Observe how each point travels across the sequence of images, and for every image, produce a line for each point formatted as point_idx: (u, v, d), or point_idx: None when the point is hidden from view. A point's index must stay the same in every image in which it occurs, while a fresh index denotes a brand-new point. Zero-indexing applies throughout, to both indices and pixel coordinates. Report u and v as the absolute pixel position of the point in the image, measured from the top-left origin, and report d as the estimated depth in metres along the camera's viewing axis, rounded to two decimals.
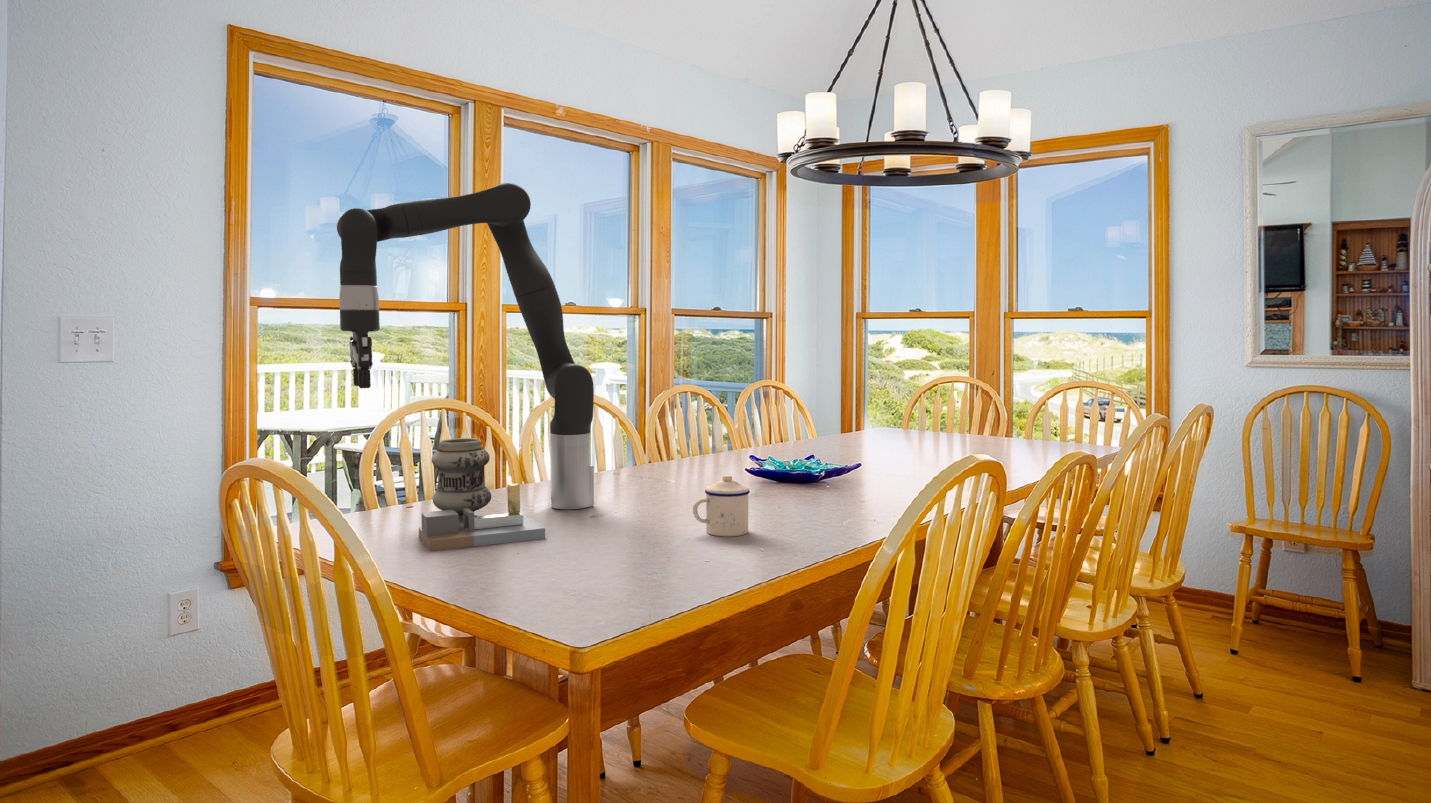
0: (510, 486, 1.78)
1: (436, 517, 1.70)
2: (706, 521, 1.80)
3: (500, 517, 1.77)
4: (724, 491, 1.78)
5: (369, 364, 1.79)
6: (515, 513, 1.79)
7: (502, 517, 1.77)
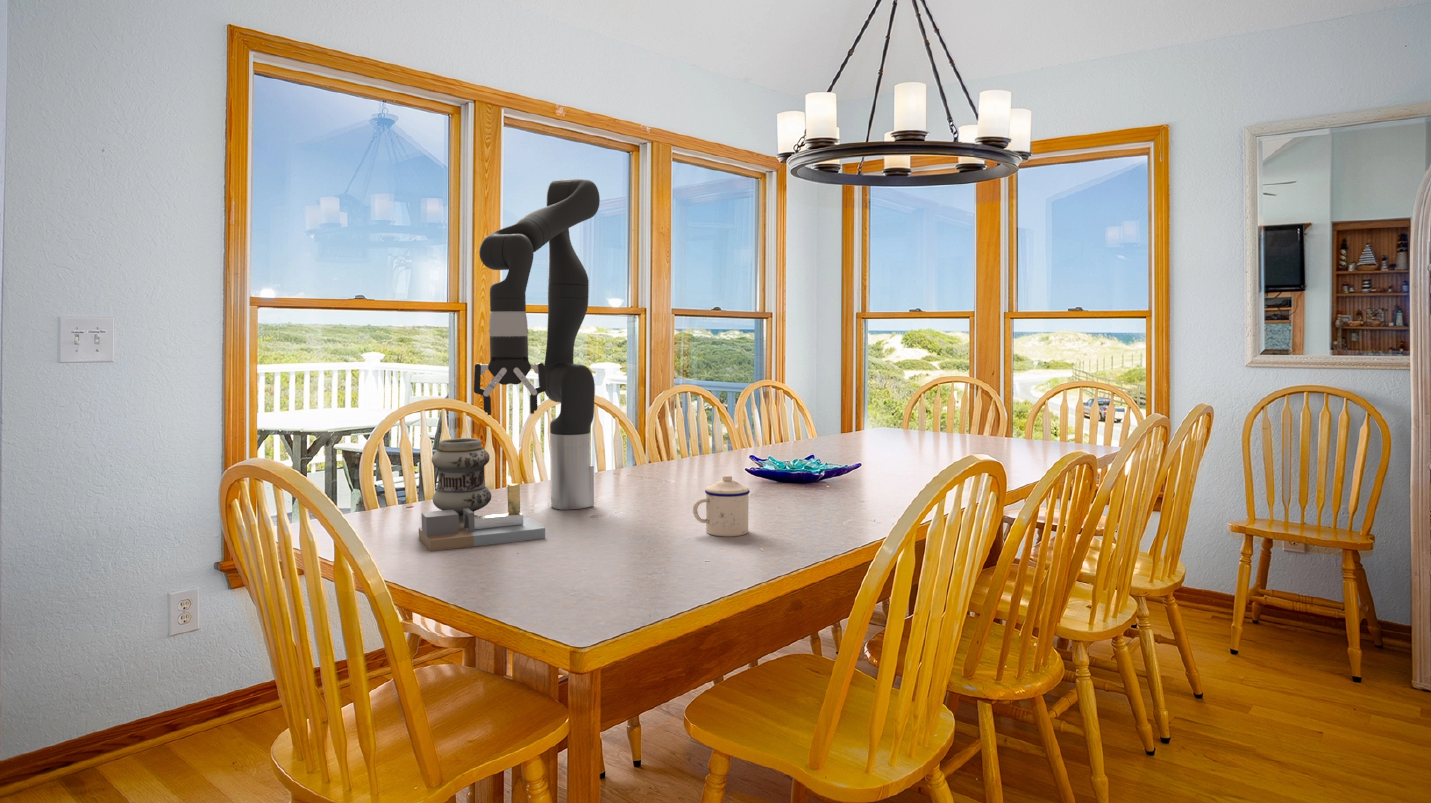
0: (510, 486, 1.78)
1: (436, 517, 1.70)
2: (706, 521, 1.80)
3: (500, 517, 1.77)
4: (724, 491, 1.78)
5: None
6: (515, 513, 1.79)
7: (502, 517, 1.77)
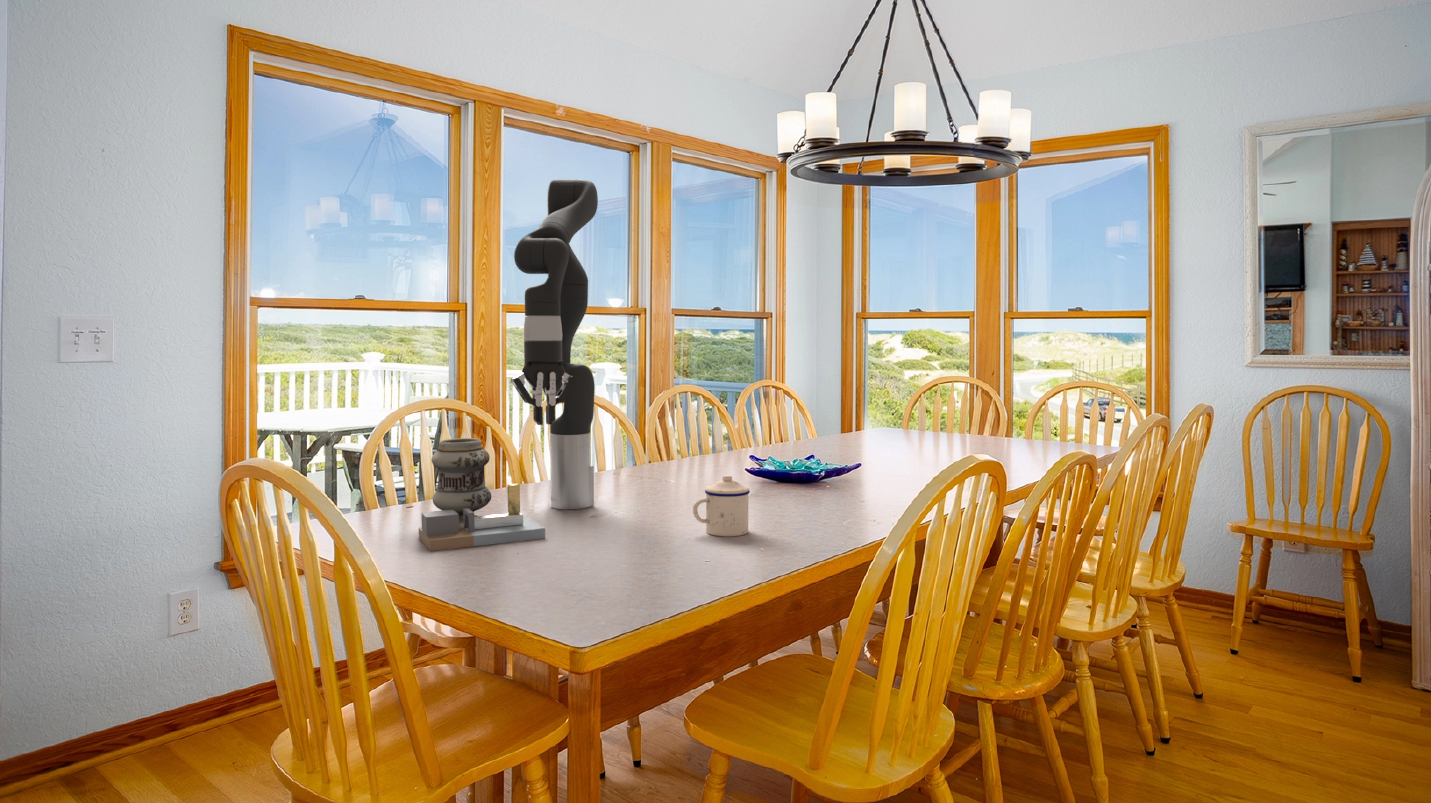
0: (510, 486, 1.78)
1: (436, 517, 1.70)
2: (706, 521, 1.80)
3: (500, 517, 1.77)
4: (724, 491, 1.78)
5: None
6: (515, 513, 1.79)
7: (502, 517, 1.77)
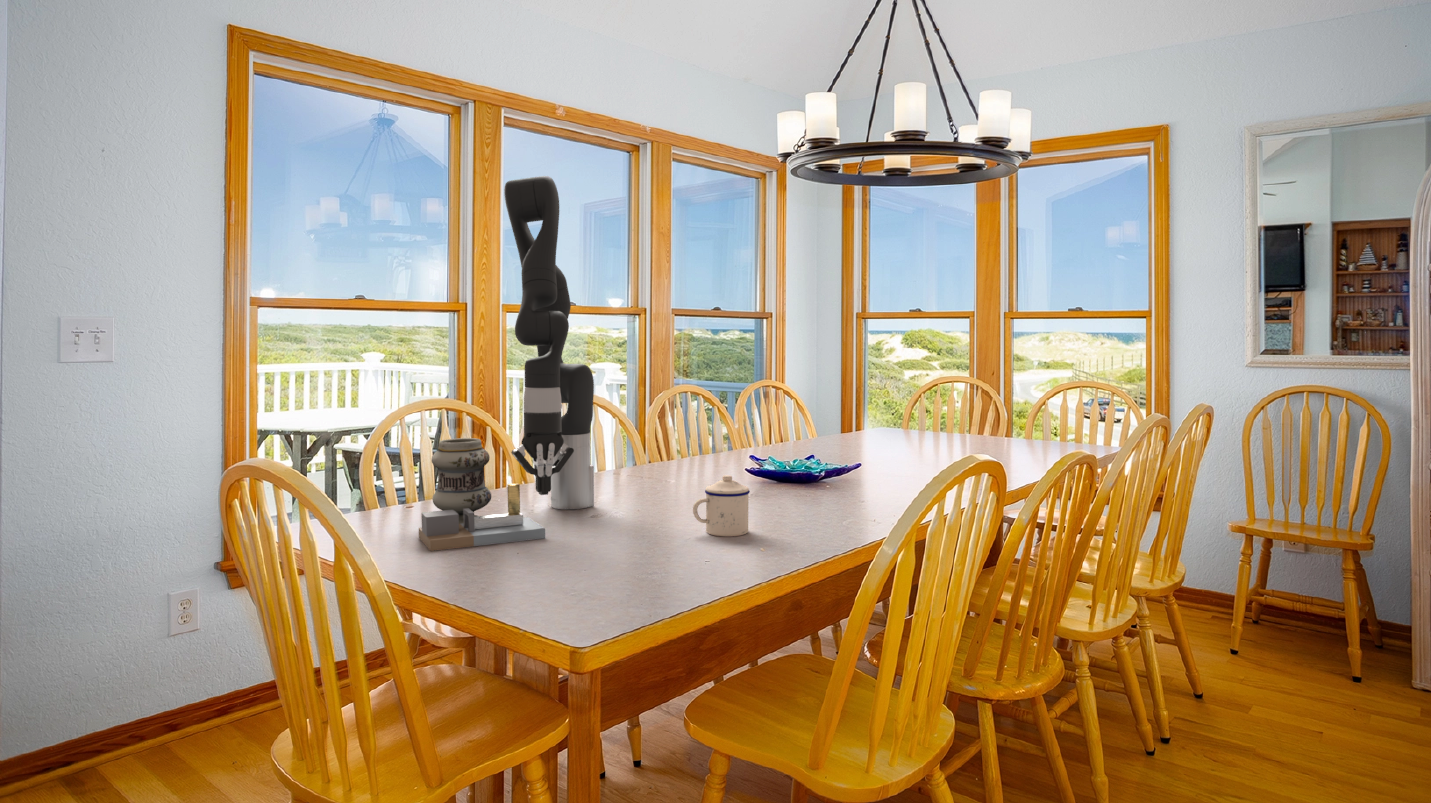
0: (510, 486, 1.78)
1: (436, 517, 1.70)
2: (706, 521, 1.80)
3: (500, 517, 1.77)
4: (724, 491, 1.78)
5: None
6: (515, 513, 1.79)
7: (502, 517, 1.77)
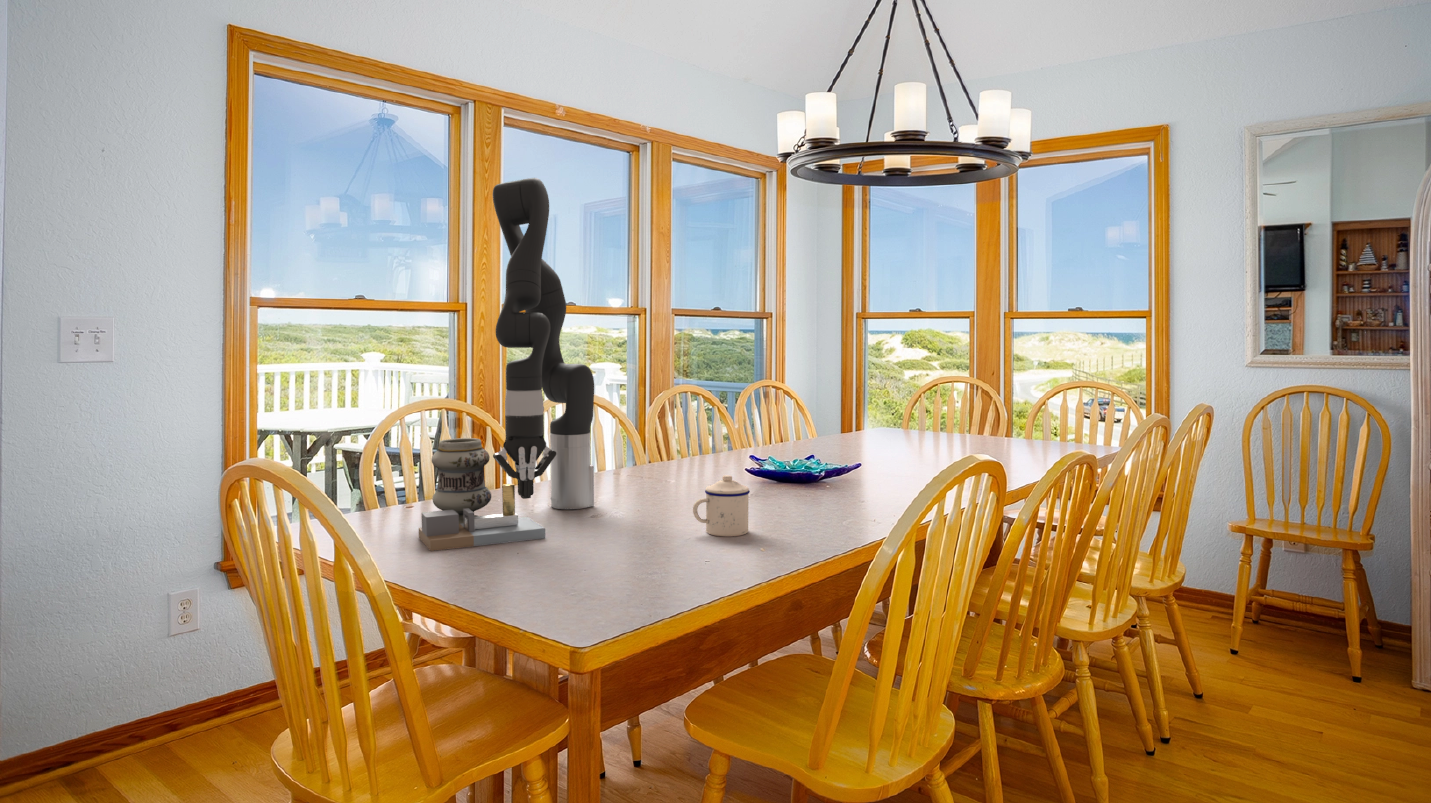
0: (505, 486, 1.78)
1: (436, 517, 1.70)
2: (706, 521, 1.80)
3: (495, 518, 1.77)
4: (724, 491, 1.78)
5: None
6: (510, 514, 1.78)
7: (497, 518, 1.77)
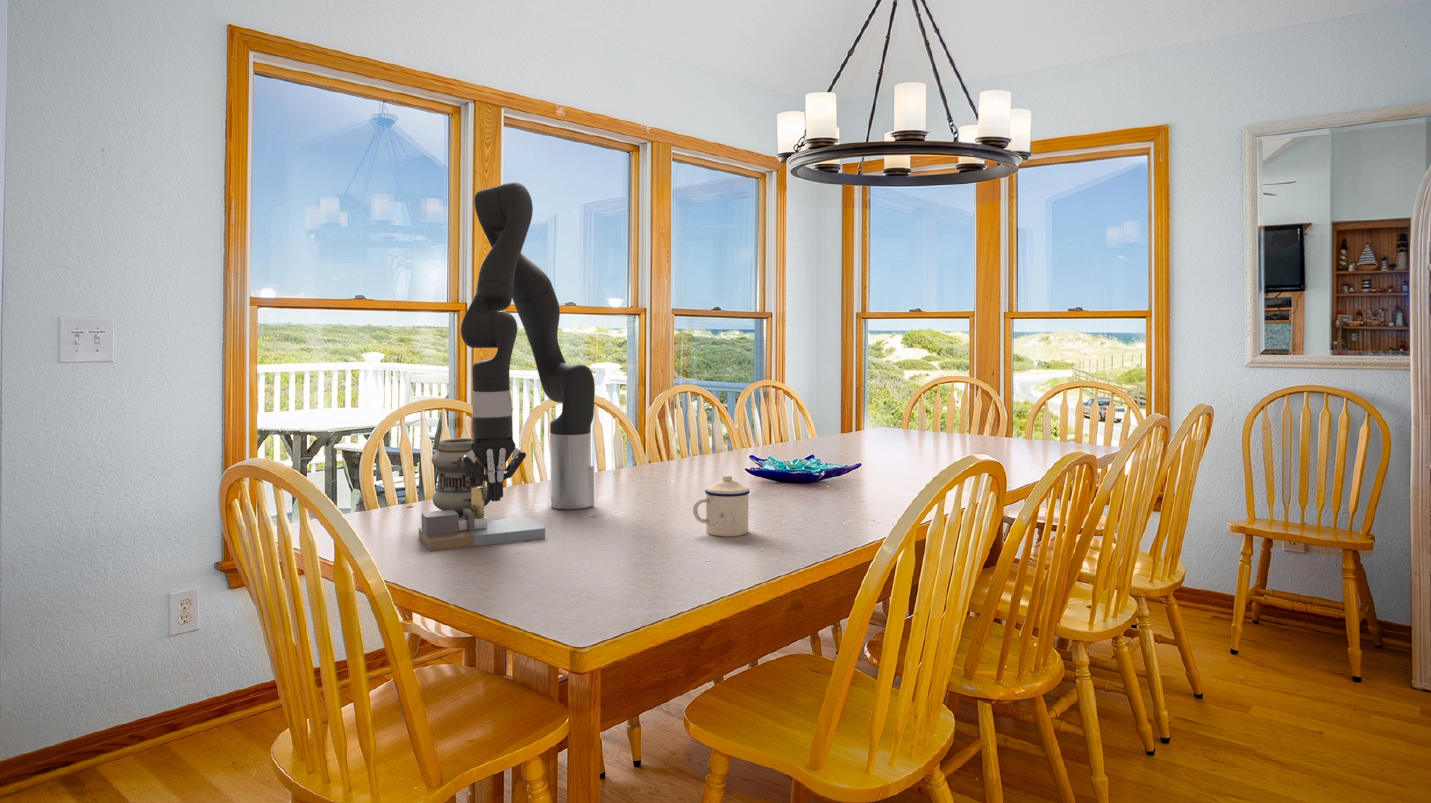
0: (474, 489, 1.75)
1: (436, 517, 1.70)
2: (706, 521, 1.80)
3: (463, 521, 1.74)
4: (724, 491, 1.78)
5: None
6: (479, 517, 1.75)
7: (465, 521, 1.74)
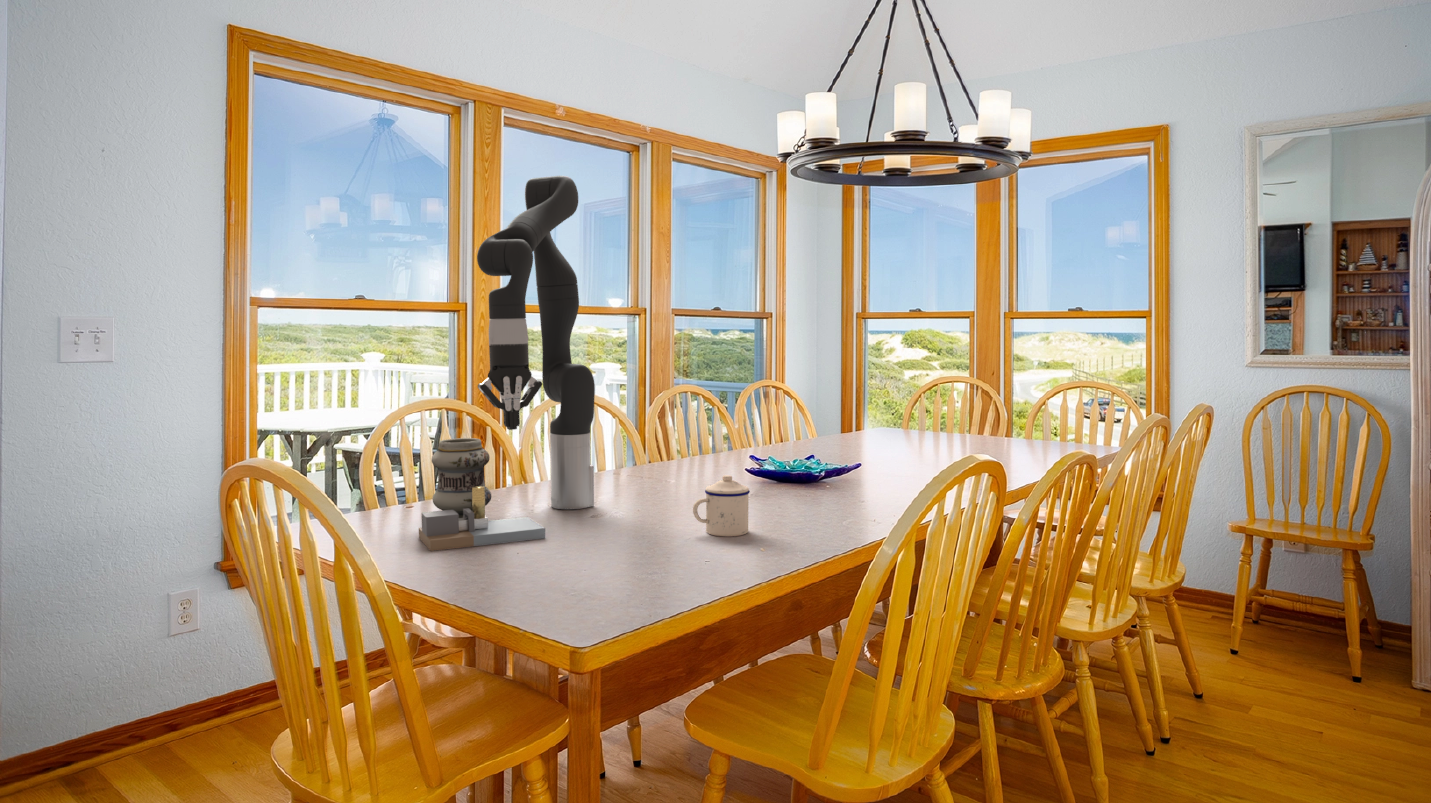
0: (474, 489, 1.75)
1: (436, 517, 1.70)
2: (706, 521, 1.80)
3: (464, 521, 1.74)
4: (724, 491, 1.78)
5: None
6: (480, 516, 1.75)
7: (466, 521, 1.74)
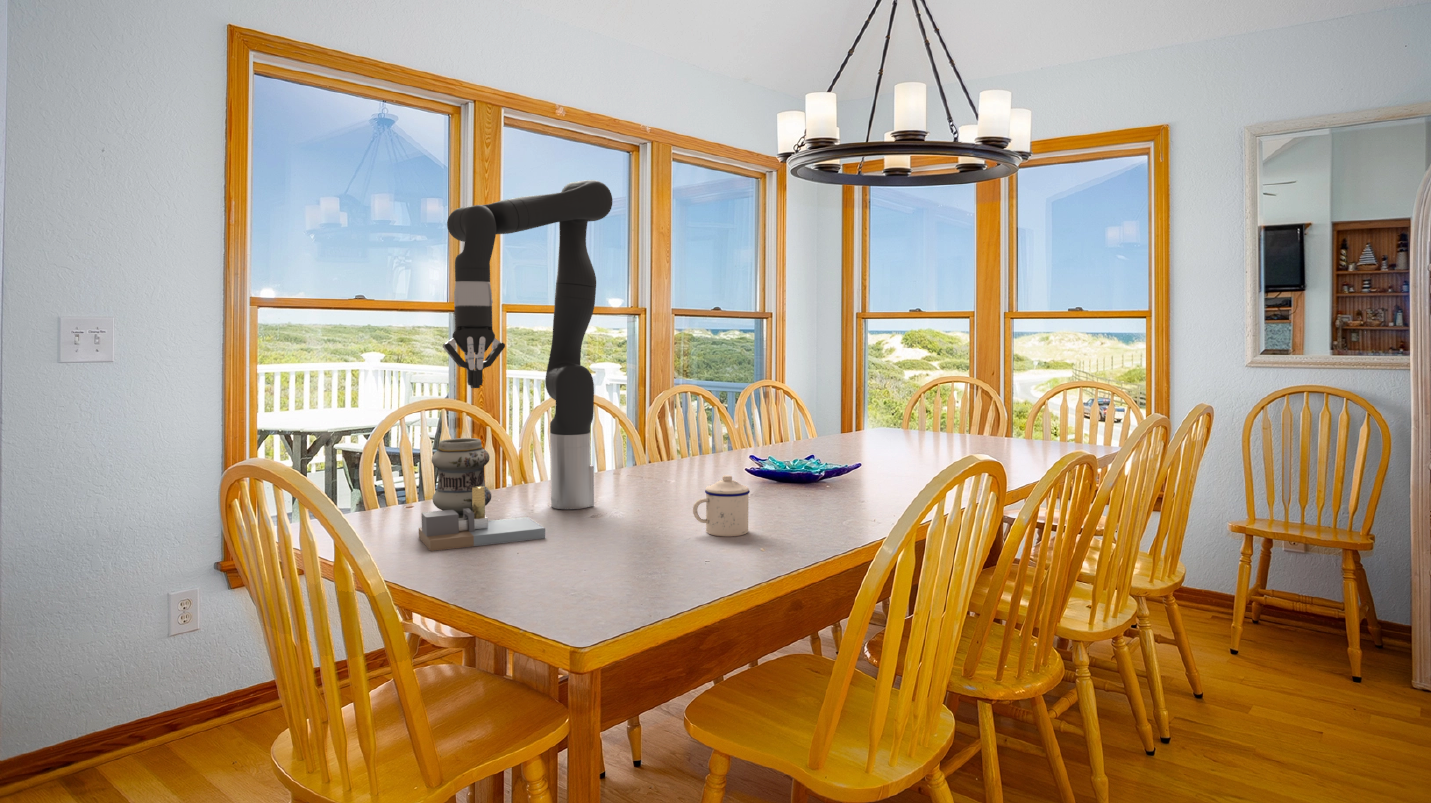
0: (474, 489, 1.75)
1: (436, 517, 1.70)
2: (706, 521, 1.80)
3: (464, 521, 1.74)
4: (724, 491, 1.78)
5: None
6: (480, 516, 1.75)
7: (466, 521, 1.74)
